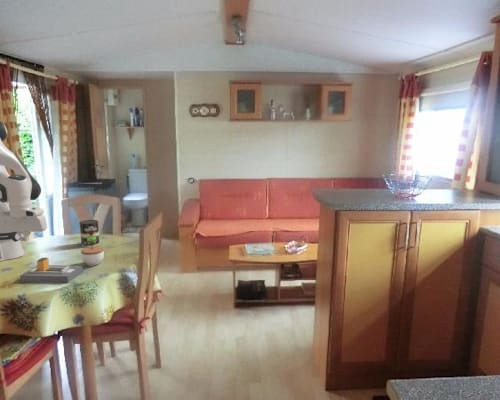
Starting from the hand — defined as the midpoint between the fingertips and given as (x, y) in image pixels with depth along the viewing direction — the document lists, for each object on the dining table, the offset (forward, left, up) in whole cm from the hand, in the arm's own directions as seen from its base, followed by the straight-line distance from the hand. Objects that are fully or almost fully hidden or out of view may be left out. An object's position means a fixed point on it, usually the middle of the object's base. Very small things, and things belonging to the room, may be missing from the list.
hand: (25, 240), depth 168 cm
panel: (+11, 0, -17) cm, 21 cm away
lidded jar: (+22, +18, -18) cm, 34 cm away
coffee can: (+5, +50, -18) cm, 53 cm away
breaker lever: (+7, 0, -14) cm, 16 cm away
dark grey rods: (+11, +11, -17) cm, 23 cm away
